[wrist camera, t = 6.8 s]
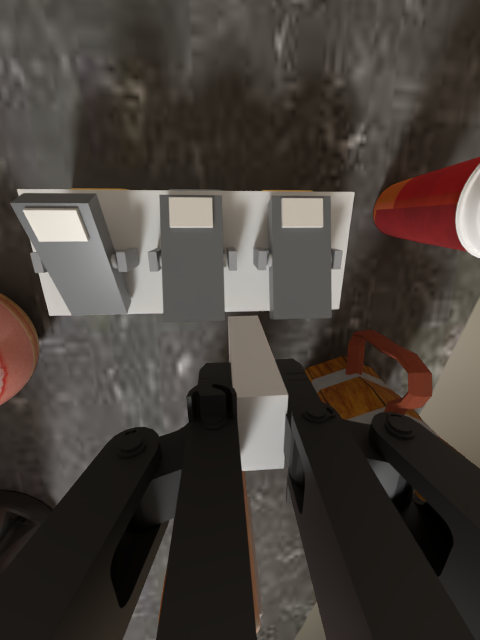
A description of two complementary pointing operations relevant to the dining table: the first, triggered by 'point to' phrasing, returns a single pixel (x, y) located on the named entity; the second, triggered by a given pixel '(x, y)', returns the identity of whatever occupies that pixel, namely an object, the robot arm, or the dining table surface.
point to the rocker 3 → (299, 257)
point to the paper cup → (435, 208)
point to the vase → (16, 348)
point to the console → (238, 244)
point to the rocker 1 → (75, 250)
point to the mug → (371, 382)
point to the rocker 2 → (192, 258)
